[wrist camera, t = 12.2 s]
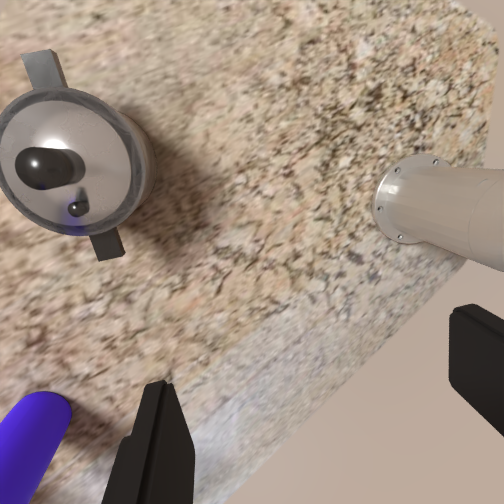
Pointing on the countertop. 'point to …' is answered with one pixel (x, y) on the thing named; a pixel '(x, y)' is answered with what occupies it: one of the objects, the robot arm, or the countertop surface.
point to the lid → (66, 163)
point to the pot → (140, 148)
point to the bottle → (30, 443)
